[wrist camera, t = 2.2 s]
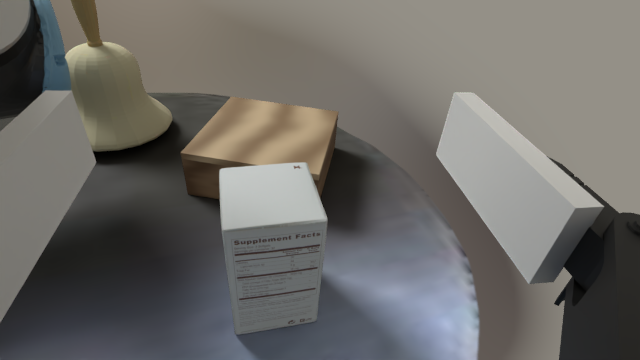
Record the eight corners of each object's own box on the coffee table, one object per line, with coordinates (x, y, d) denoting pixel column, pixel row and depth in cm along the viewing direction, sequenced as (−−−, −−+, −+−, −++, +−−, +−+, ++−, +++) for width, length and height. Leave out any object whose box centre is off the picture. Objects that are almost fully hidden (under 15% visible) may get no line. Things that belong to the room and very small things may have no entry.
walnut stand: (188, 194, 46) (180, 152, 42) (234, 132, 59) (231, 96, 55) (315, 215, 44) (319, 174, 41) (334, 147, 57) (338, 111, 54)
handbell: (195, 126, 60) (168, -60, 45) (114, 173, 48) (42, -54, 34) (124, 102, 64) (79, -73, 50) (36, 140, 53) (-57, -71, 38)
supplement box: (229, 270, 37) (217, 165, 30) (303, 261, 39) (309, 159, 31) (232, 338, 31) (218, 230, 24) (318, 324, 33) (330, 218, 26)
